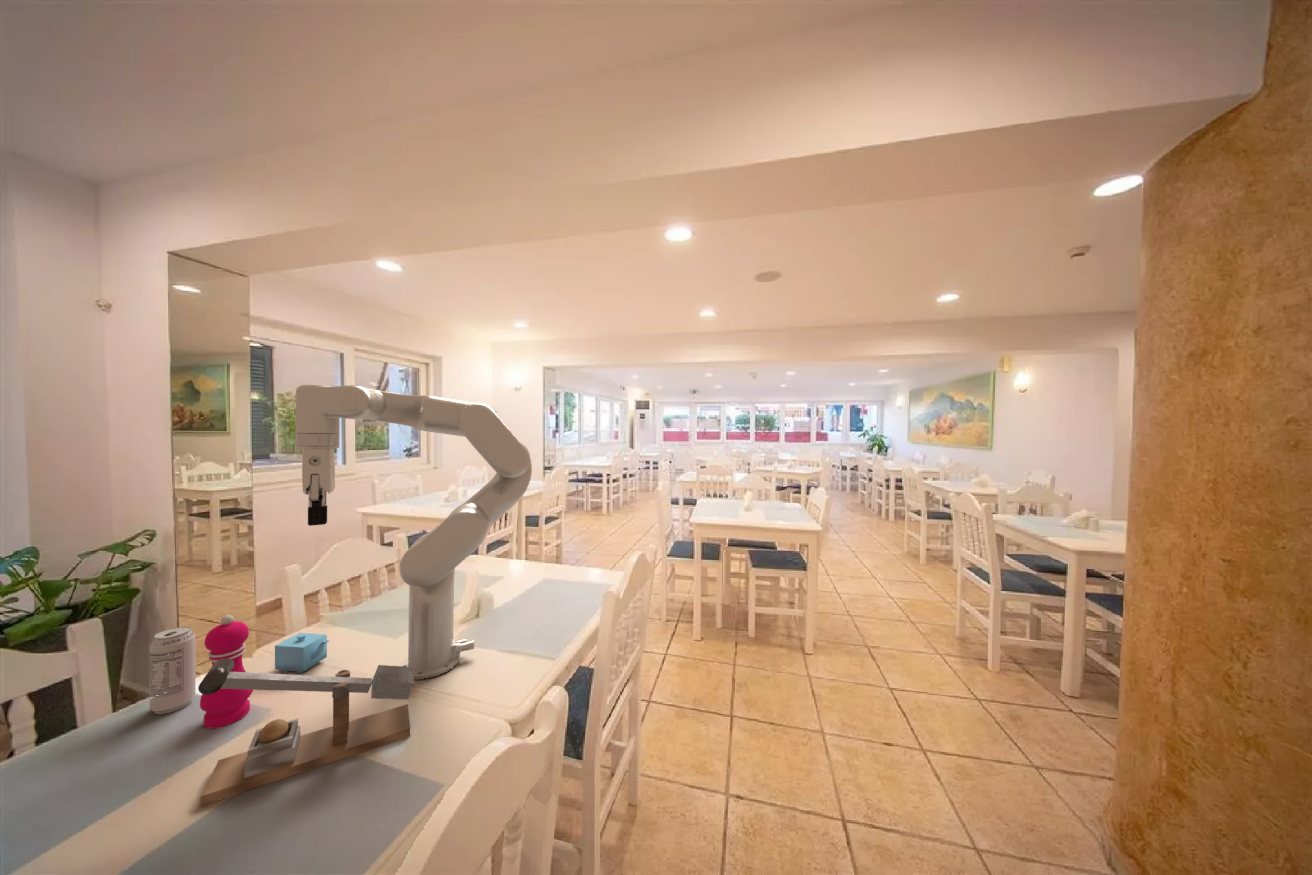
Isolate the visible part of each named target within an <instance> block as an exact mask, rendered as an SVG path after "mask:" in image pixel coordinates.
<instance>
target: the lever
mask: <svg viewBox="0 0 1312 875" xmlns="http://www.w3.org/2000/svg"><path fill="white" fill-rule="evenodd" d="M233 667H234V661H233V660H231V659H229V658H223V659H220V660H218V661H216V662H215V663H214V664H213V666H212V665H211V667H210V669H209V670H208V671H207V673H206V674H205V676H204V677H203V679H202V681H201V682H200V683H199V685H198V692H199V693H200V694H201V695H202V694H205V695H209V694H213V693H215V692H217V691H218V690H219V689H252V690H253V691H254V690H259V691H262V690H263V691H290V692H291V691H293V692H321V693H322V692H323V693H324V692H325V693H326V692H327V693H328V692H329V693H333V686H334V684H338V683H342V682H346V681H348V692H349V693H357V694H368V693H369V691H371V693H370V695H371V696H370V699H373V700H377V699H379V700H409V696H410V694H411V692H412V689H413V687H414V685H415V679H414V677H413V669H412V667H403V666H401V665H400V666H399V665H384V664H378V666H377V668H376V670H375V673H374V675H373V676H372V677H369V678H368V677H354V676H353V677H352V676H350V677H335V675H333V676H329V675H310V674H287V673H286V674H285V673H269V672H267V673H265V672H264V673H263V672H248V671H246V672H231V670H232V669H233ZM370 689H371V690H370Z"/></svg>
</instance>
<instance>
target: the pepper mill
mask: <svg viewBox="0 0 1312 875" xmlns="http://www.w3.org/2000/svg"><path fill="white" fill-rule="evenodd" d="M234 619H235V618H234V616H233V615H231V614H226V615H225V616H223V617H222V618H221V619H220V623H221V624H218V625H216V626H214V627H213V628H212V629H210V631H208V633H207V634H206V635H205V637H204V638H205V639H204V647H205V648H206V649H207V650H208V651H209V652H208V654H207V655H208V662H210V663H211V667H212V666H213V664H214V663H215V662H216V661H218V660H220V659H223V658H229V659H231V660H233V661H234V667H233V669H232V670H231V672H247V671H246V670H245V667H244V663H243V655H244V653H245V652H246V643H245V642H246V641H247V639H248V637H249V634H250V632H249V631H250V628H249V627H248V625H247V624H246V623H244V622H242V621H239V620H238V621H234ZM253 692H254V690H252V689H219V690H218V691H217V692H215V693H213V694H209V695H205V694H202V693H201V696H200V701H199V707H200V710H202V711H204V712H205V713H204V714H203V726H204V727H205V728H207V729H218V728H222V727H223V728H224V727H225V726H229V725H231V724H233V723H236V722H238V721H240V720H241V719H243V718H244V717H246V716H247V714H248V713H250V710H251V702H250V699H249V698H250V697H251V695H252V694H253Z"/></svg>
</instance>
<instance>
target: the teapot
mask: <svg viewBox="0 0 1312 875" xmlns="http://www.w3.org/2000/svg"><path fill="white" fill-rule="evenodd" d="M328 642H330V640H328V635H327V634H324V633H323V634H322V633H311V632H310V633H309V632H299V633H296V634H294V635H292V636H291V637H289V638H287V639H284V640H283V641H282V642H279V643H277V644H276V645H274V670H278V671H279V670H281V671H282V673H288V672H291V671H292V672H296V674H297V675H301V674H303V673H305V672H306V671H307V670H308V669H310V668H311V667H313V666H315V665H317V664H316V663H318V662H319V663H320V662H321V661H323V660H324V659H326V658H327V657H328V644H327V643H328ZM319 663H318V664H319Z"/></svg>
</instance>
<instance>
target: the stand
mask: <svg viewBox="0 0 1312 875" xmlns="http://www.w3.org/2000/svg"><path fill="white" fill-rule="evenodd" d="M334 677H351V672H350V670H348V669H342V670H340V671H337V673H335V675H334ZM331 693H332V694H331V697H332V726H329V727H325V728H322V729H318V730H316V731H312V732H309V733H305V734H302V735H301V725H299V719H298V718H295V719H292V720H291V719H290V720H288V721H286V722H287V723H288V732H287V734H286V736H285V737H284V738H283V739H280V740H277V741H273V742H270V743H266V744H262V743H261V742H260V740H259V735H260V732H261V730H262V729H263V728H264V727H263V728H259V729H256V730H255V732H254V734H253V737H252V739H251V742H250V745H249V747H248V750H247V751H243V752H241V753H238V754H235V755H232V756H231V755H230V756H227V757H224V758H221V759H218V761H217V762H216V765H215V767H214V768H213V771H212V774H211V775H210V777H209V779H208V781H207V783H206V785H205V788H204V790H203V792H202V793H201V795H200V799H201V800H200V802H201V804H200V805H201V807H202V806H207V805H209V804H211V803H214V802H218V801H220V800H223V799H226V798H229V797H233V796H235V795H238V794H242V793H245V792H247V791H251V790H253V789H256V788H260V787H263V786H266V785H269V784H271V783H274V782H277V781H280V780H284V779H287V778H290V777H293V776H296V775H299V774H302V773H305V772H307V771H310V770H311V771H312V770H313V769H316V768H319V767H322V766H326V765H327V764H332V763H335V762H337V761H340V760H344V759H346V758H349V757H352V756H355V755H359V754H361V753H364V752H368V751H370V750H373V749H376V748H378V747H382V746H386V745H388V744H392V743H394V742H397V741H400V740H403V739H407V738H410V737H411V721H410V711H409V704H408V703H407V704H404V705H400V706H397V707H394V708H390V709H386V710H382V711H379V712H377V713H373V714H370V715H367V716H363V717H359V718H355V719H353V720H352V719H351V720H350V692H348V681H346V682H342V683H338V684H334V686H333V692H331Z"/></svg>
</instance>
